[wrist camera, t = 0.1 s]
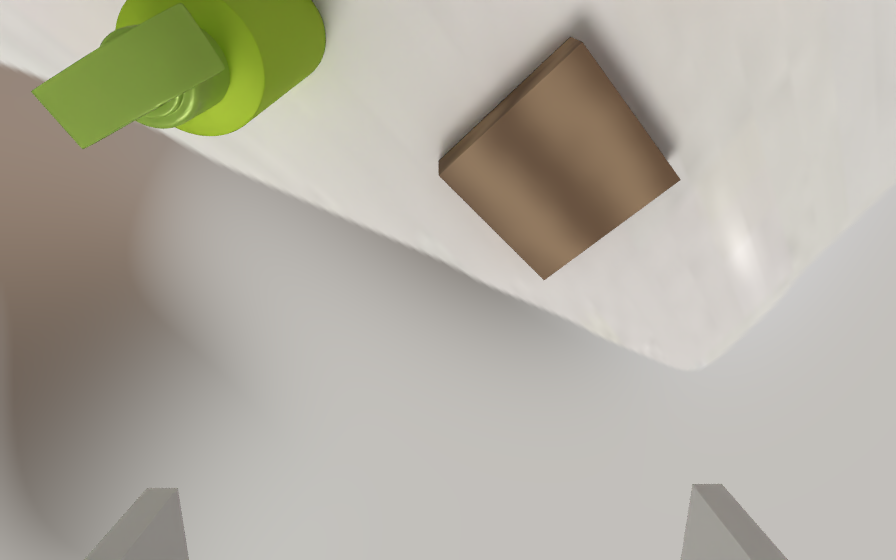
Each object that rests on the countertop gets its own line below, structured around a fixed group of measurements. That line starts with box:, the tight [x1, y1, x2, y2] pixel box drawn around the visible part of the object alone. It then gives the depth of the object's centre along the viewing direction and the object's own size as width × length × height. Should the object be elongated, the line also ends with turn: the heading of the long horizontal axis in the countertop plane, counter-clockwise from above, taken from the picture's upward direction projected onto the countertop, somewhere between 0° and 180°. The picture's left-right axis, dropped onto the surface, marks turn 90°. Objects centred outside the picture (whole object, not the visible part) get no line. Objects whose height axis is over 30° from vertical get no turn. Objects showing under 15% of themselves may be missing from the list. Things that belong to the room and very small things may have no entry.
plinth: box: [439, 37, 680, 280], centre depth 34 cm, size 12×12×3 cm
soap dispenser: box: [31, 0, 326, 149], centre depth 22 cm, size 6×7×20 cm
